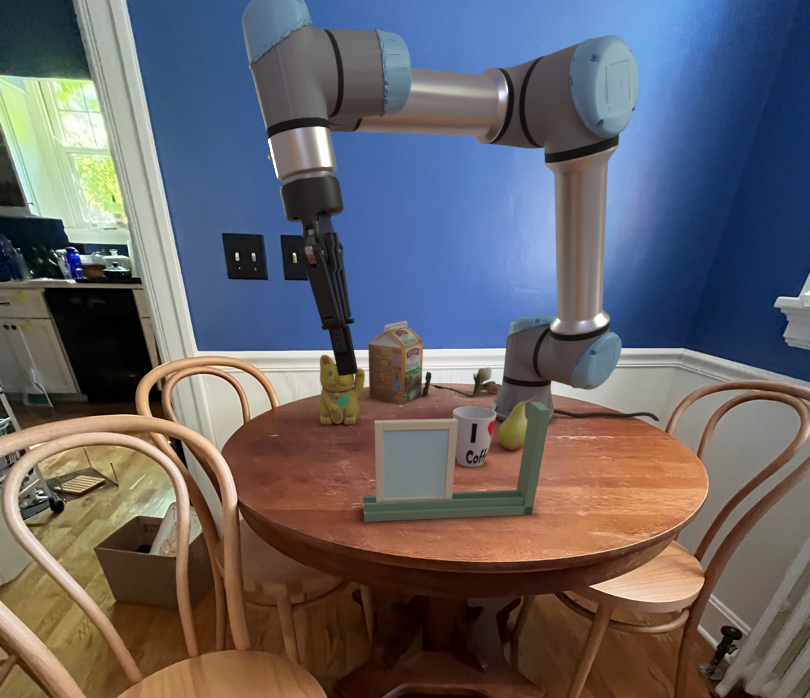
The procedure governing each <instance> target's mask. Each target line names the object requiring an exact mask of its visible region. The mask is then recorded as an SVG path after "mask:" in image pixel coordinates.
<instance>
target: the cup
mask: <svg viewBox="0 0 810 698" xmlns="http://www.w3.org/2000/svg"><path fill="white" fill-rule="evenodd" d="M452 419H457V421H458V427H457V440H456V453H455V459H456V462H457V464H459V465H461V466H463V467H468V468H474V467H475V468H476V467H480V466H482V465H483V464H484V462H485V460H486V457H487V454H488V452H489V449H490V445H491V443H492V439H493V435H494V429H495V424H496V420H497V419H496V412H495V411H494V410H492V408H488V407H484V406H477V405H468V406H467V405H465V406H459V407H455V408H453V410H452Z"/></svg>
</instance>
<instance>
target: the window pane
mask: <svg viewBox="0 0 810 698" xmlns="http://www.w3.org/2000/svg"><path fill="white" fill-rule="evenodd" d="M457 427H458V421H457V419H453V418H422V419H421V418H420V419H419V418H418V419H417V418H416V419H377V420H376V419H375V420H374V461H375V462H374V463H375V464H374V465H375V466H374V467H375V470H374V471H375V496H376V502H401V501H425V500H450V499H452V493H453V491H454V479H455V466H456V465H455V464H456V454H455V453H456V440H457Z"/></svg>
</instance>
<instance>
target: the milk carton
mask: <svg viewBox="0 0 810 698" xmlns="http://www.w3.org/2000/svg"><path fill="white" fill-rule="evenodd" d="M367 345H368V347H367V348H368V349H367V350H368V385H369V387H368V389H369V390H368V391H369V398H370V399H375V400H380V401H384V402H389V403H390V402H391V403H395V404H400V405H401V404H405V403H407V402H410V401H412V400H414V399H416V398H418V397H421V396H422V393H423V360H424V359H423V358H424V357H423V356H424V342H423V340H422V338H420V336H419V335H418V334H417V333H416V332H415V331H414V330H412V329H411V328H410V327H409V326H408V321H407V320H402V321H399V322H397V321H396V322H394V323H388V324H385V325H384V331H382V332H380V333H379V334H377V335H376V336H374V337H373V338H372V339H371V340H370V341H369V342H368V344H367Z"/></svg>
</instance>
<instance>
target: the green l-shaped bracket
mask: <svg viewBox="0 0 810 698" xmlns="http://www.w3.org/2000/svg"><path fill="white" fill-rule="evenodd" d="M550 411H551V410H550V409H548V408H547V407H546V406H545V405H543V404H542V403H541V402H530V407H529V414H528V420H527V427H526V433H525V440H524V446H523V448H522V454H521V459H520V466H519V472H518V479H517V486H516V489H507V490H506V489H505V490H483V491H482V490H481V491H456V492H455V491H454V492H453V493H452V499H450V500H425V501H401V502H376V495H362V510H363V521H364V523H370V522H371V523H372V522H373V523H374V522H392V521H414V520H415V521H416V520H437V519H461V518H462V519H463V518H482V517H483V518H484V517H505V516H531V515H533V511H534V507H535V500H536V495H537V488H538V483H539V478H540V473H541V466H542V461H543V456H544V449H545V444H546V438H547V433H548V427H549V423H550V422H549V417H550Z"/></svg>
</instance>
